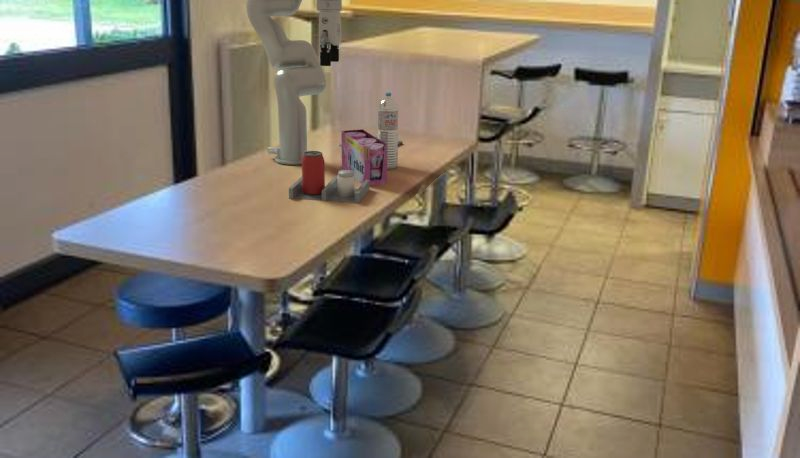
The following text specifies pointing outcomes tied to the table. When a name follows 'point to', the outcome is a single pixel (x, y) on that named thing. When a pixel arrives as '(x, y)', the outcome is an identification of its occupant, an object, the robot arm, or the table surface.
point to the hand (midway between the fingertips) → (329, 63)
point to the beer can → (313, 173)
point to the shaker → (346, 183)
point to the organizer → (328, 192)
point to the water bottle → (389, 128)
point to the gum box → (364, 156)
